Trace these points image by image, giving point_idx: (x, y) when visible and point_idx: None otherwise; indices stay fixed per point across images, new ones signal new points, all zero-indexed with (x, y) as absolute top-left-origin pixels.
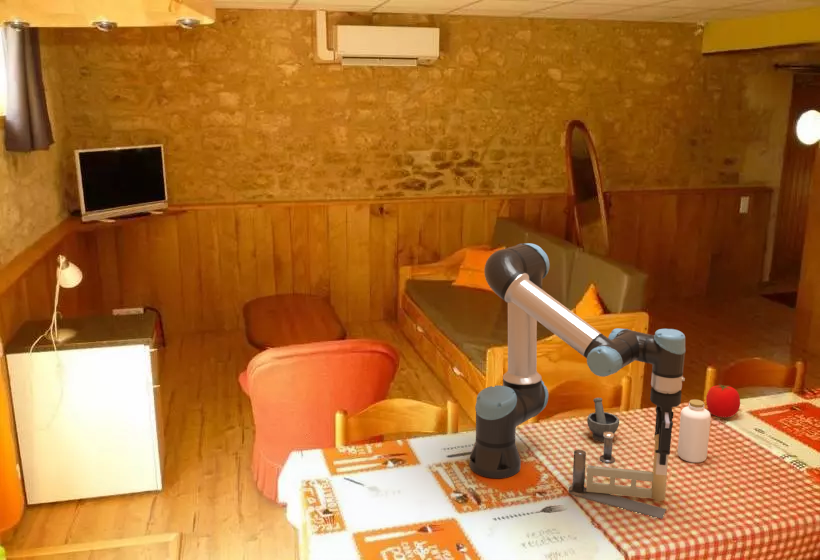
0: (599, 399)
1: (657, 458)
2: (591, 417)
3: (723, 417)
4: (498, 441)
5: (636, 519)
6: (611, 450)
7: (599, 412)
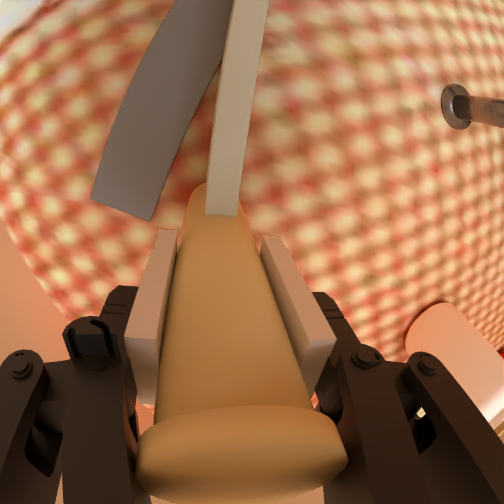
0: None
1: (137, 295)
2: None
3: None
4: None
5: (80, 113)
6: (478, 118)
7: None
